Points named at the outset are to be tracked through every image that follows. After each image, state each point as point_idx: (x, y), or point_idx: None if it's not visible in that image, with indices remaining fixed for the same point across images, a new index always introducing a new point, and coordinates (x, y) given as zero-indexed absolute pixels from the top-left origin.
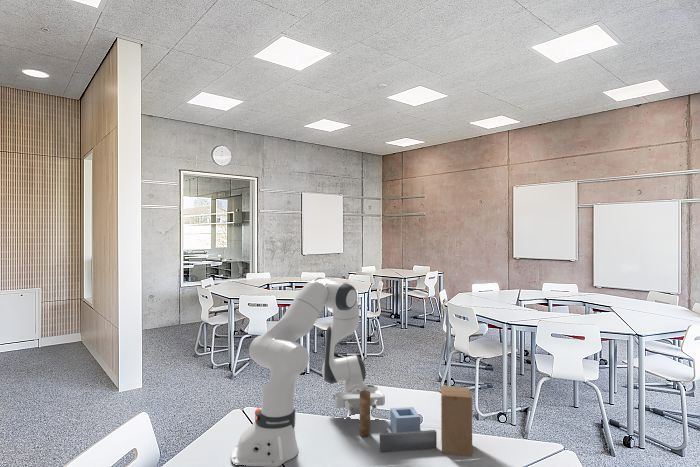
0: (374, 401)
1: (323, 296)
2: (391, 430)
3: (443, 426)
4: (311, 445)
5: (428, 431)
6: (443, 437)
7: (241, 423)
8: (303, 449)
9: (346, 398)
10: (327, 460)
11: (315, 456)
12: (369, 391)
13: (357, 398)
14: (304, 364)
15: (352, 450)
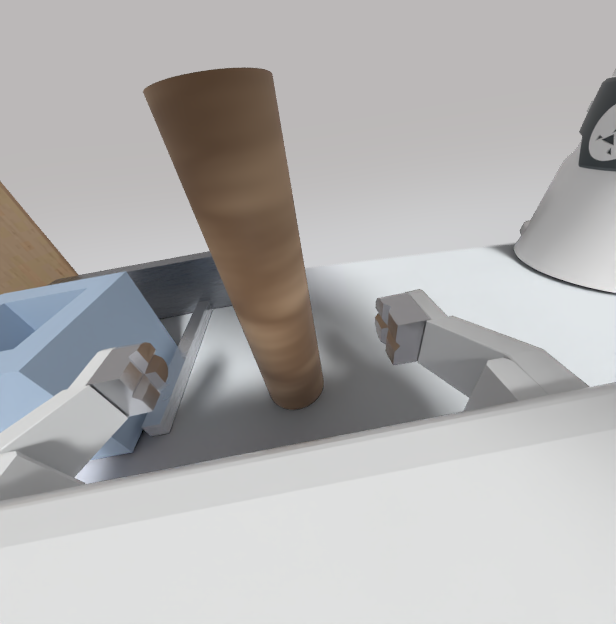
0: (29, 460)
1: None
2: (142, 423)
3: (45, 236)
4: (514, 298)
5: (76, 278)
6: (71, 267)
7: None
8: (523, 279)
9: (592, 398)
10: (407, 258)
11: (452, 263)
12: (144, 93)
13: (313, 441)
14: None
15: (346, 294)
